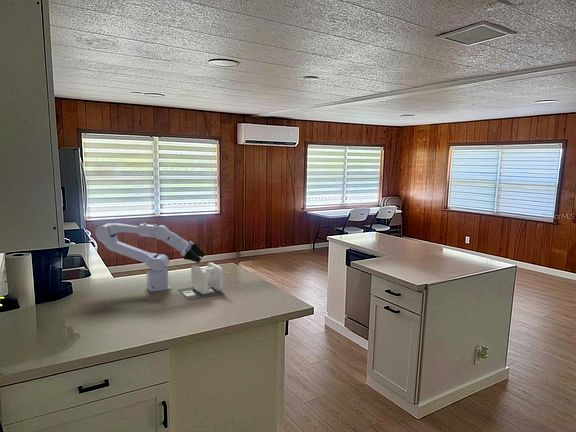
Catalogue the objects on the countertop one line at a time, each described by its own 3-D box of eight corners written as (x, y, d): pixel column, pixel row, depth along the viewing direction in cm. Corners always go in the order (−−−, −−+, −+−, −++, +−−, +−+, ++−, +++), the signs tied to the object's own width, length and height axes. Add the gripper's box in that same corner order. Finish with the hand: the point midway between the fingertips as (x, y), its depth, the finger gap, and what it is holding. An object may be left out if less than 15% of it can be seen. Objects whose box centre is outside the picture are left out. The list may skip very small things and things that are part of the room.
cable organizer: (224, 293, 182) (224, 268, 181) (203, 297, 176) (202, 271, 175) (210, 284, 194) (210, 261, 193) (190, 288, 188) (189, 264, 187)
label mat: (188, 300, 173) (188, 299, 173) (177, 289, 186) (177, 289, 186) (224, 294, 181) (224, 293, 181) (211, 284, 195) (211, 284, 195)
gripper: (177, 240, 177) (202, 256, 179) (186, 231, 191) (209, 247, 193) (169, 252, 179) (194, 268, 180) (178, 243, 193) (202, 258, 194)
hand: (202, 258), depth 187 cm, fingers open, 7 cm apart
